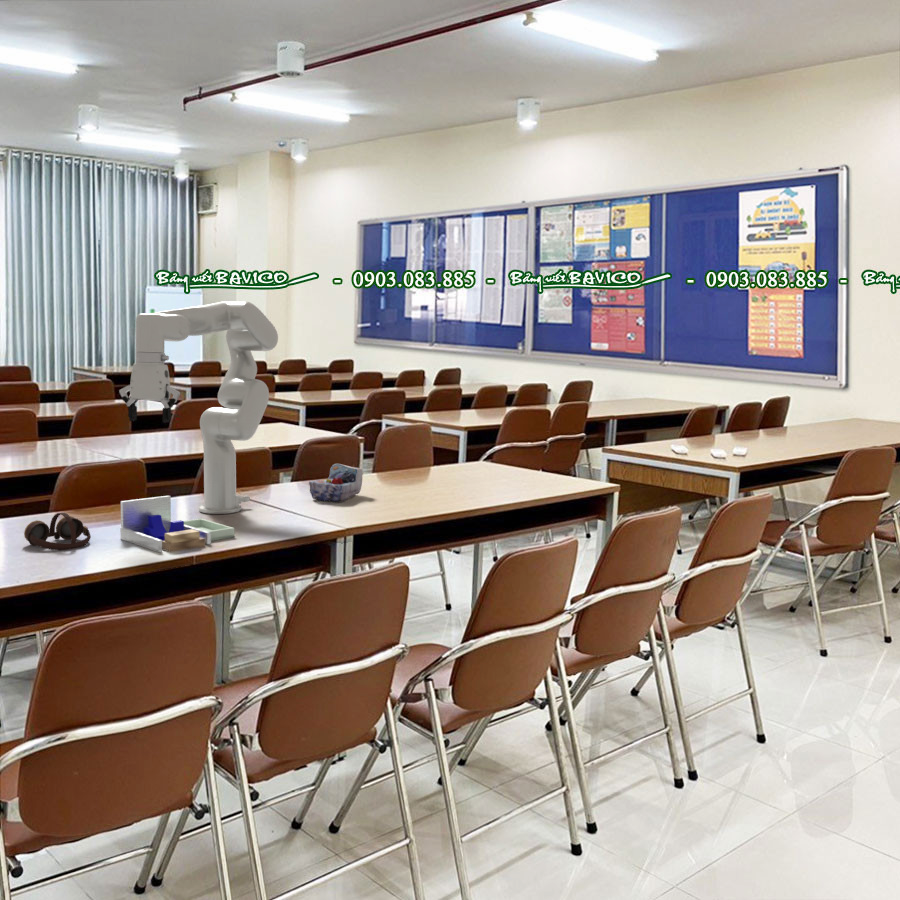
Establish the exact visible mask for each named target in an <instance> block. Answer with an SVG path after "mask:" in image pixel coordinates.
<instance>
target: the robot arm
mask: <svg viewBox="0 0 900 900" xmlns="http://www.w3.org/2000/svg"><path fill="white" fill-rule="evenodd" d="M224 331H226V334H225V338H226V343H227V346H228V351H229V355H230V364H229V367H228V370H227V371H226V374H225V375H224V378H223V380H222V383H221V384H220V386H219V390H218V392H217V401H218V403H219V404H220V405H221V407H220V406H213V407H210V408H207V409H206V410H205V411H203V413H202V414H201V416H200V418H199V427H200V433H201V437H202V444H203V488H204V489H203V493H204V494H203V497H204V498H203V500H204V504H202V505H200V506H199V507H198V511H199V512H200V513H204V514H211V515H226V514H228V515H229V514H234V513H235V514H236V513H238V512H239V513H240V511H242V506H241V505H240V504H242V503H249V502H250V501H251V497H250V496H249V495H240V494H237V464H236V462H237V453H236V448H235V446H234V445H233V444H234V443H233V442H232V441H240V442H242V441H243V442H244V441H248V440H250V439H251V438H253V437H254V435H255V434H256V432H257V430H258V428H259V426H260V423H261V421H262V419H263V416H264V414H265V412H266V410H267V409H266V408H267V407H268V404H269V400H270V392H269V391H270V390H269V387H268V386H267V384H266V383H265V382H264V381H263V380H260V379H256V376H257V373H258V366H257V362H256V360H255V358H254V356H253V354H252V352H253V351H254V352H270V351H272V350H273V349H275V348H276V347H277V344H278V342H279V334H278V331H277V329H276V327H275V326H274V324H273V323H272V322H271V321H270V319H268V317H267V316H266V315H265V314H264V312H262V310H260V308H259V307H257V306H256V305H255V304H253V303H252V302H249V301H240V300H239V301H234V300H231V301H230V300H228V301H227V300H226V301H225V300H224V301H219V302H215V303H214V302H213V303H209V304H204V305H203V304H202V305H197V306H190V307H184V308H176V309H169V310H162V311H157V312H152V313H139V314H137V315H136V318H135V363H132V368H131V375H130V382H129V383H130V384H128V385H126V386H124V387H123V388H121V389H119V390H118V391H119V392H118V393H119V395H120V396H121V400H122V401H123V402H124V403H125V404H126V406H127V408H128V409H127V410H128V412H127V413H128V415H127V417H128V418H129V419H128V420H129V422H135V421H137V419H138V407H137V403H138V402H139V401H153V402H160V403H161V404H162V405H163V407H162V417H161V418H162V419H161V420H162V423H170V420H171V418H172V408H173V406H174V405H176V403H177V402H178V399H180V396H181V392H180V391H178V390H177V389H175V388H173V387H172V386H171V382H170V381H171V379H170V372H169V367H168V364H165V363H166V361H169V359H170V357H169V355H167V354H166V353H165V342H182V341H184V340H187V338H189V337H190V336H193V337H195V336H196V337H197V336H206V335H211V334H214V333H218V332H224ZM128 392H129V395H130V396H128ZM171 395H172V398H171ZM222 406H223V407H222Z"/></svg>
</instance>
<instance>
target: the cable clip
mask: <svg viewBox="0 0 900 900" xmlns="http://www.w3.org/2000/svg"><path fill="white" fill-rule="evenodd" d="M172 521H173V522H171V525H170V530H169V532H167V531H166V530H165V528H164V526H163V523H162V518H161V515H152V516H148V526H149V527H145V528H144V534H145V535H148V536H151V537H154V538H157V539H160V540H162V541H165V533H170V532H177V531H184V521H185V520H172Z"/></svg>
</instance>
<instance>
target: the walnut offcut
mask: <svg viewBox="0 0 900 900" xmlns="http://www.w3.org/2000/svg"><path fill="white" fill-rule="evenodd" d="M202 547H206V544H205V539H204V538H201V537H200V539H196V540H190V541H184V542H177V543H169V542H166V541H162V551H163V550H164V551H166V552H168V553H171V552H177V551H183V550H191V549H196V548H202Z"/></svg>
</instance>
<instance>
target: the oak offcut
mask: <svg viewBox="0 0 900 900" xmlns="http://www.w3.org/2000/svg"><path fill="white" fill-rule="evenodd" d="M196 539H200V531H197V530H193V529H190V530H184V531H177V532H170V533H165V541H166V542H169V543H177V542H184V541H190V540H196Z"/></svg>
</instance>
